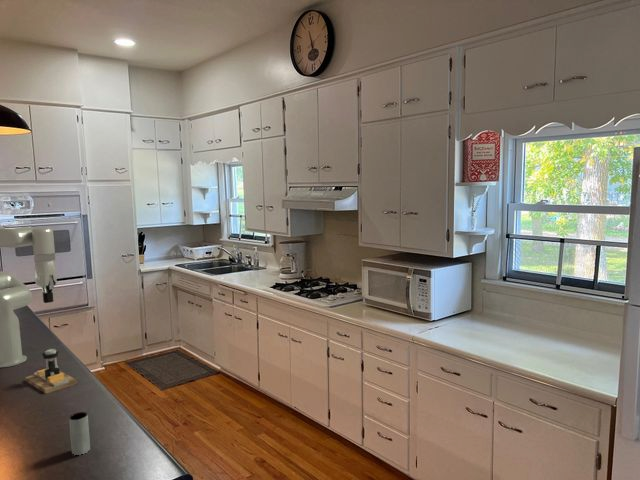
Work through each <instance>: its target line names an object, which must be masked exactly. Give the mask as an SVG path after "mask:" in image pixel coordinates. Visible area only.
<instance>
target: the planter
mask: <svg viewBox="0 0 640 480" xmlns="http://www.w3.org/2000/svg"><path fill="white" fill-rule="evenodd" d="M68 423H69V435H70V445H71V454H72V455H73V454H74V455H73V456H75V455H79V456H82V455H81V454H83V455H85V453H86V454H88V453H89V452H90V451H91V441H90V430H89V429H90V427H89V415H88V413H87V412H84V411H79V412H76V413H73V414H71V415H69V418H68ZM89 450H90V451H89ZM88 451H89V452H88Z"/></svg>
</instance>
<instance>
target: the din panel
mask: <svg viewBox="0 0 640 480" xmlns="http://www.w3.org/2000/svg"><path fill="white" fill-rule="evenodd" d="M59 373H63V374H64V378H65V379H67V380H69V382H68V383H65V384H62V385H59V386H56V387H54V386H52V385H50V384H49V383H47V382H45V381H43V380H42V379H40V378H38V377H37V376H35V375H34V374H32V375H28V376H25V379H24V380H25V382H26V383H28V384H30V385H32V386H33V387H35V388H36V389H37V390H38V391H41V392H43V393H44V394H49V393H53V392H56V391H59V390H62V389H65V388H68V387H71V386H74V385H77V384H78V379H76V378H75V377H73V376H70V375H69V374H67V373H65V372H63V371H62V370H59Z"/></svg>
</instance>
